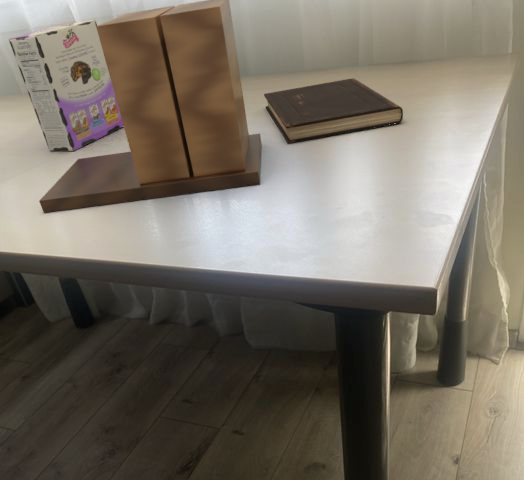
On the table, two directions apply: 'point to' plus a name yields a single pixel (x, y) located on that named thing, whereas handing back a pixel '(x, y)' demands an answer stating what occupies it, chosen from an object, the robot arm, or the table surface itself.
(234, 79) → the split wooden block stand
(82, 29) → the candy box
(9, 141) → the table surface
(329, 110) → the hardcover book
